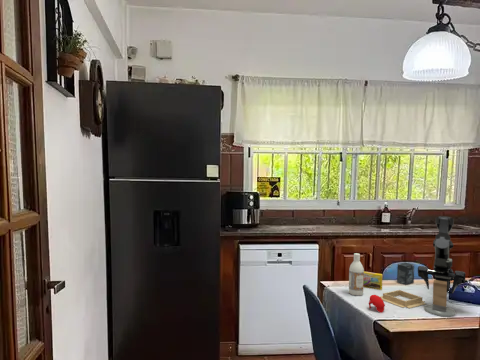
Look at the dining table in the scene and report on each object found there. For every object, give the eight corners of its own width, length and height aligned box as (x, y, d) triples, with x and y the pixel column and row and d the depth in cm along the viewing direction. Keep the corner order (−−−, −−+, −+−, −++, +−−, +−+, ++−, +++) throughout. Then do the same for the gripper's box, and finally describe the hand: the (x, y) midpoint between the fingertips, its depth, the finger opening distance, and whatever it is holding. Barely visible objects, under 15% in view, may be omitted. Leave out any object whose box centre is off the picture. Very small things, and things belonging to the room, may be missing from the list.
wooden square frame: (398, 293, 180) (398, 288, 180) (428, 303, 166) (429, 298, 166) (376, 297, 172) (376, 292, 172) (406, 309, 158) (406, 303, 158)
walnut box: (433, 306, 159) (434, 279, 159) (446, 308, 157) (447, 281, 157) (432, 309, 155) (433, 282, 155) (445, 312, 152) (446, 284, 152)
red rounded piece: (363, 299, 160) (368, 296, 155) (374, 294, 162) (379, 290, 157) (373, 316, 157) (378, 314, 152) (384, 311, 158) (390, 308, 153)
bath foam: (353, 296, 174) (354, 255, 173) (346, 291, 180) (347, 252, 180) (366, 295, 175) (367, 255, 175) (358, 291, 182) (359, 252, 182)
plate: (443, 306, 163) (443, 303, 162) (462, 316, 151) (462, 314, 151) (418, 306, 161) (418, 304, 161) (435, 317, 149) (435, 314, 149)
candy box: (349, 285, 192) (350, 269, 192) (350, 284, 194) (351, 269, 194) (381, 290, 184) (381, 274, 184) (382, 289, 185) (382, 273, 185)
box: (406, 285, 193) (406, 266, 193) (396, 282, 198) (397, 263, 198) (414, 283, 197) (414, 264, 197) (404, 280, 202) (405, 262, 202)
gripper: (418, 248, 165) (415, 277, 156) (466, 253, 156) (465, 285, 146) (419, 261, 172) (416, 290, 163) (465, 267, 162) (464, 298, 153)
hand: (440, 291), depth 156 cm, fingers open, 9 cm apart
